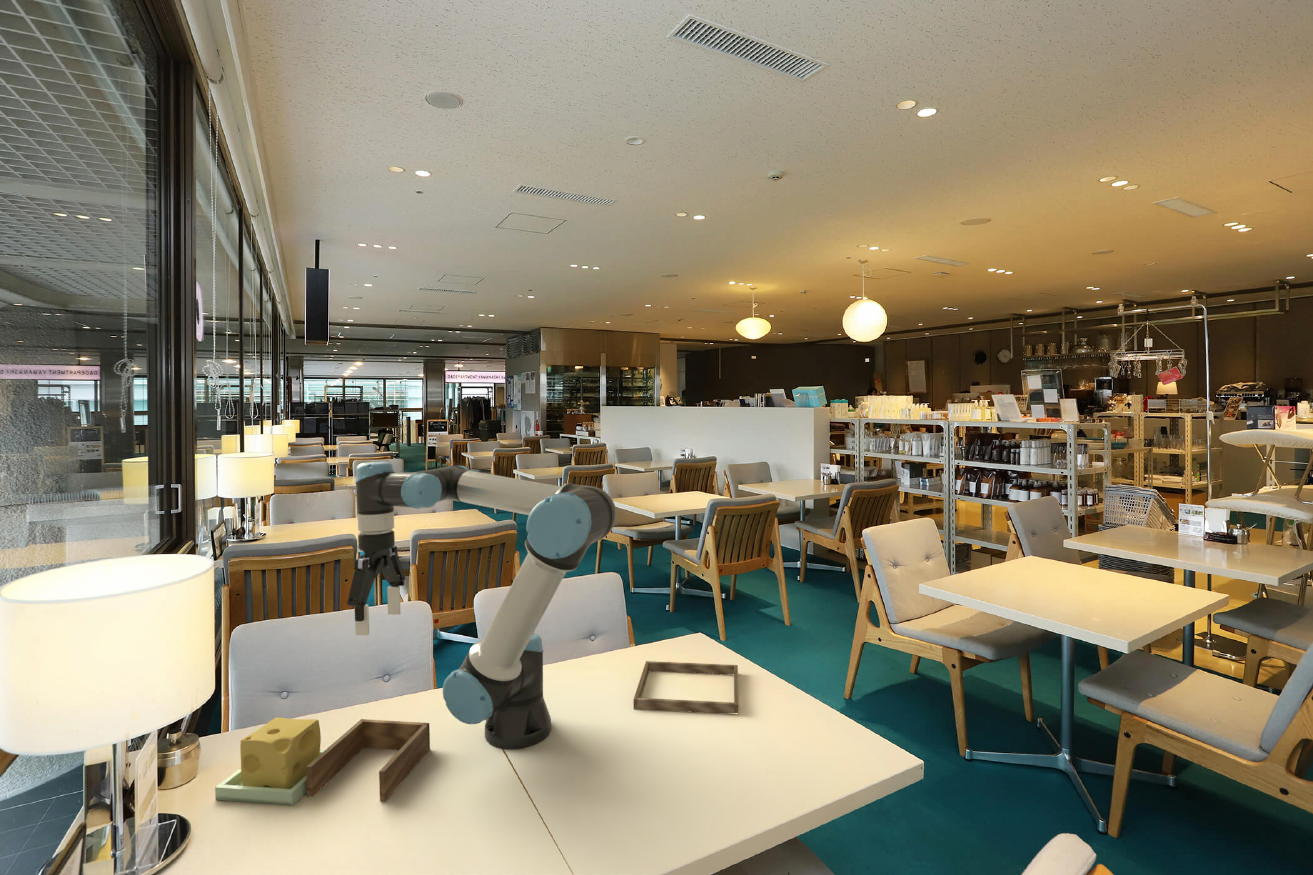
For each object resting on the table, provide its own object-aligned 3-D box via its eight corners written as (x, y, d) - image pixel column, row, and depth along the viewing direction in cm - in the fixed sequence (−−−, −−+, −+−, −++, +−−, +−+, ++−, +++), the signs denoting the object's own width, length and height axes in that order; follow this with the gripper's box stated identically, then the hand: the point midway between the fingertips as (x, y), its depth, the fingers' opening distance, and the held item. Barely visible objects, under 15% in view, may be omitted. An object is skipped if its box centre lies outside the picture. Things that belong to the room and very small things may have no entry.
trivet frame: (737, 673, 184) (737, 665, 184) (738, 714, 160) (738, 704, 160) (646, 669, 187) (646, 660, 187) (633, 709, 163) (633, 699, 163)
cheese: (286, 793, 128) (284, 744, 127) (238, 788, 129) (236, 739, 129) (322, 764, 138) (320, 718, 137) (277, 759, 140) (275, 714, 139)
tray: (339, 761, 140) (338, 750, 140) (292, 805, 125) (291, 792, 125) (269, 757, 142) (269, 746, 142) (215, 799, 127) (215, 787, 127)
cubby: (430, 749, 145) (429, 722, 144) (384, 801, 126) (383, 771, 126) (361, 745, 147) (361, 718, 146) (307, 796, 128) (306, 766, 127)
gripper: (388, 520, 160) (391, 606, 161) (326, 542, 135) (330, 643, 136) (418, 520, 159) (420, 606, 160) (361, 543, 134) (364, 644, 135)
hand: (379, 624), depth 148 cm, fingers open, 13 cm apart
